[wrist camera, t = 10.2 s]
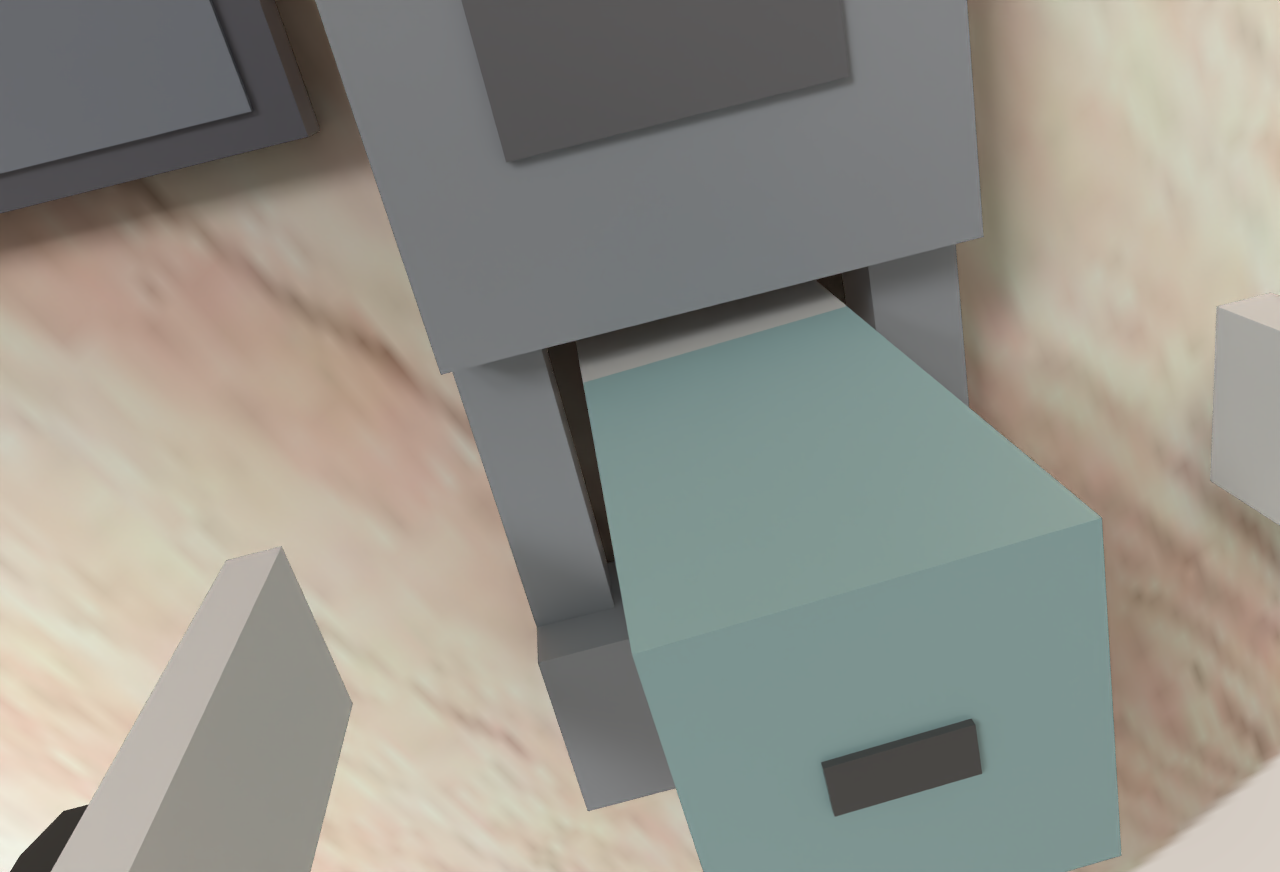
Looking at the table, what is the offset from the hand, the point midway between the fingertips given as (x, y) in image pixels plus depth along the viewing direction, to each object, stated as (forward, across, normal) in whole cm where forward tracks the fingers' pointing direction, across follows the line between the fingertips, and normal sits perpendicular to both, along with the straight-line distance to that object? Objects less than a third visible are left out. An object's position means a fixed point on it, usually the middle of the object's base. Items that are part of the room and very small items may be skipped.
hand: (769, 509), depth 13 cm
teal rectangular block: (+4, 0, 0) cm, 4 cm away
